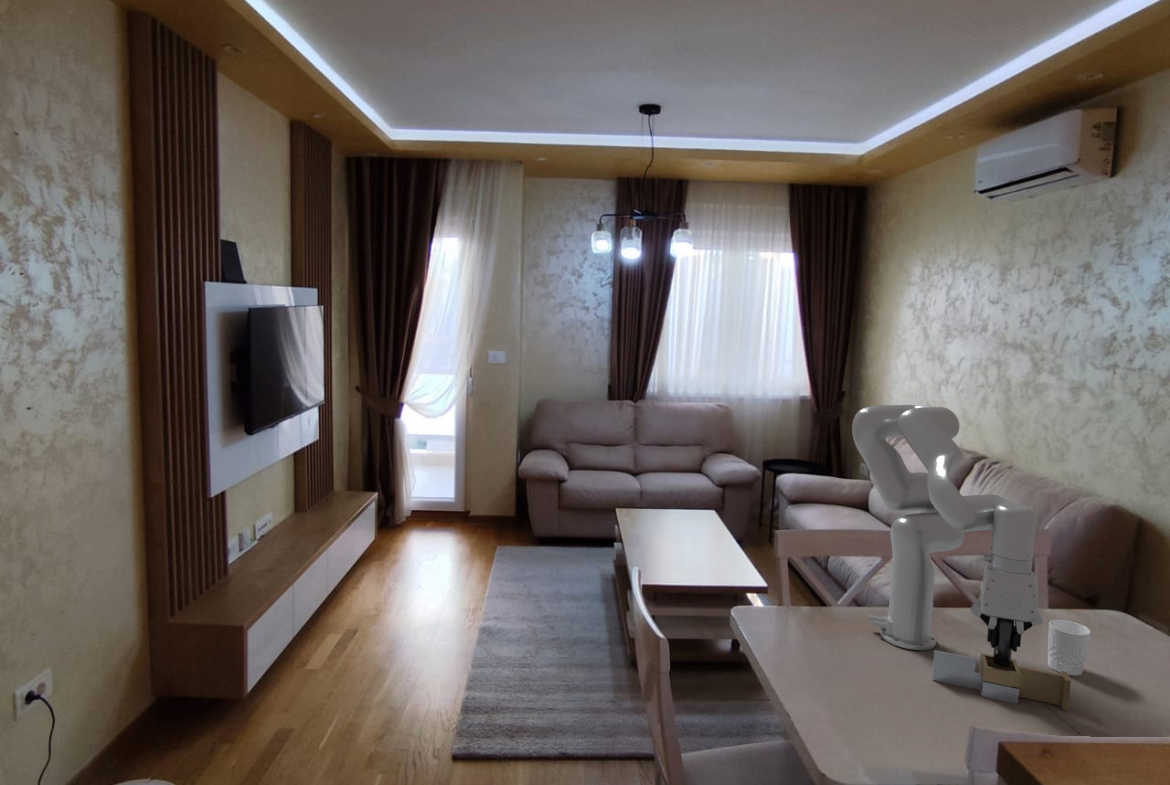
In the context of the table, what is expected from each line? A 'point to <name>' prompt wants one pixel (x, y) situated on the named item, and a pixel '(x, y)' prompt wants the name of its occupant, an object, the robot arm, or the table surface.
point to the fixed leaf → (969, 676)
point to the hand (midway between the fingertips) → (1003, 646)
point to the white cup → (1067, 646)
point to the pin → (1003, 642)
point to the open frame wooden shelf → (1028, 681)
